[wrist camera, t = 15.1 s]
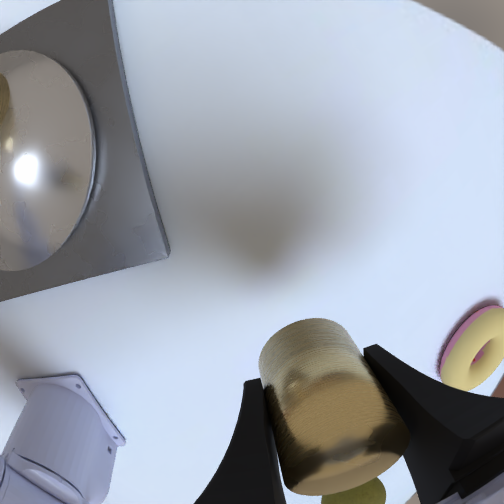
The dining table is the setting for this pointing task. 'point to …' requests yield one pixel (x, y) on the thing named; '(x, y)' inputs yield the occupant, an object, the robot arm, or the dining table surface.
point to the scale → (107, 151)
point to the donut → (474, 349)
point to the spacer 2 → (327, 410)
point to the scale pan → (42, 159)
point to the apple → (359, 494)
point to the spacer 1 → (3, 97)
